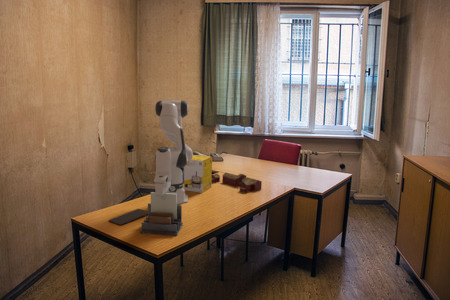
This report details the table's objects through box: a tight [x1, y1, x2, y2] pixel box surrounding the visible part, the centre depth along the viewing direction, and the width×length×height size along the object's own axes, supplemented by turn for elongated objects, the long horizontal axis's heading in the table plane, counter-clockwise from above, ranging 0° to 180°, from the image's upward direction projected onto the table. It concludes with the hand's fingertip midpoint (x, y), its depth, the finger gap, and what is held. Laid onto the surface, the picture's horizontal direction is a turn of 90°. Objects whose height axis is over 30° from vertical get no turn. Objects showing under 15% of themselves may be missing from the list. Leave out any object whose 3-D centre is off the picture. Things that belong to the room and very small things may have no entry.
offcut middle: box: [150, 212, 174, 222], centre depth 210 cm, size 2×13×8 cm, turn 84°
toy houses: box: [212, 172, 263, 194], centre depth 300 cm, size 45×20×10 cm, turn 48°
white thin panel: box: [150, 191, 178, 219], centre depth 213 cm, size 2×15×18 cm, turn 85°
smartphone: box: [108, 208, 148, 227], centre depth 226 cm, size 12×2×25 cm
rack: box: [139, 202, 184, 237], centre depth 209 cm, size 15×21×12 cm
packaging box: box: [183, 154, 213, 194], centre depth 287 cm, size 16×16×25 cm
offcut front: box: [149, 216, 171, 224], centre depth 206 cm, size 2×12×7 cm, turn 85°
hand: (163, 198), depth 211 cm, fingers closed on white thin panel, 2 cm apart
